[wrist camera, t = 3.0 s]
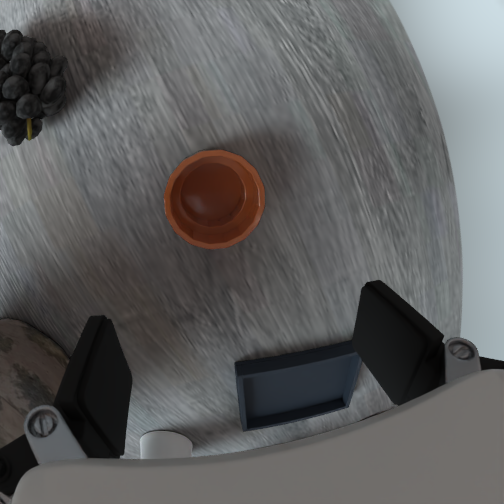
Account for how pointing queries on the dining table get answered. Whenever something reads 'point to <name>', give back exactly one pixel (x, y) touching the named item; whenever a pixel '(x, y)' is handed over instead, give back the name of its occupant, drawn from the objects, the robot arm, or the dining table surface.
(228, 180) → the small bowl
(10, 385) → the clay pot
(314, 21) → the dining table surface
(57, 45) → the dining table surface
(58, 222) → the dining table surface
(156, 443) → the mug
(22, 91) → the fruit
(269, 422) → the tray
